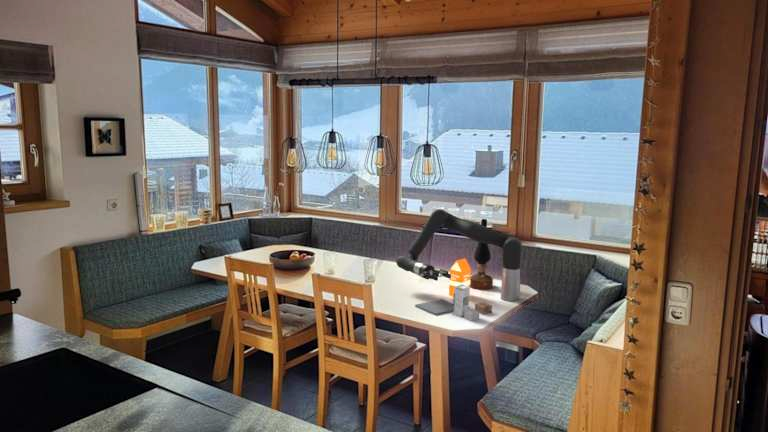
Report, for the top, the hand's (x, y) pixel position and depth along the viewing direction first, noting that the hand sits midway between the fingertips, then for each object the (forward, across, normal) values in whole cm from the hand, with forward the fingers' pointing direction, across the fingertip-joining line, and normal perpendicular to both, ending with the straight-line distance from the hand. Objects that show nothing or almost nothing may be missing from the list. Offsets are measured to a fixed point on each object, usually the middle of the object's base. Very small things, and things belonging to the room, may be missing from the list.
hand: (443, 277), depth 302 cm
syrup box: (+14, 0, +15) cm, 21 cm away
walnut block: (+18, +12, +15) cm, 26 cm away
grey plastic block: (+22, 0, +15) cm, 27 cm away
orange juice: (-10, +20, +15) cm, 27 cm away
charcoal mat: (+1, -4, +15) cm, 16 cm away
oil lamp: (-16, +42, +15) cm, 48 cm away
